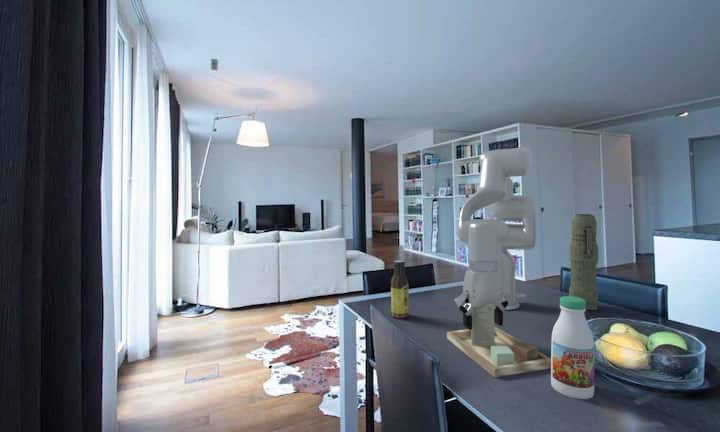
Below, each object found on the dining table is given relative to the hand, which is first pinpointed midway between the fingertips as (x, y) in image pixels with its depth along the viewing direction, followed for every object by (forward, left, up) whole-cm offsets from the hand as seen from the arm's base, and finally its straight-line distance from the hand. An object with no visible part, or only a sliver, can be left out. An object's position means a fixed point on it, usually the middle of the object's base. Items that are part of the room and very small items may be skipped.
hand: (483, 326), depth 91 cm
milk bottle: (-5, +24, -6) cm, 25 cm away
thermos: (-55, -18, -6) cm, 58 cm away
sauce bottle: (+14, -29, -6) cm, 33 cm away
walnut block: (-3, +12, -5) cm, 13 cm away
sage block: (+3, +12, -5) cm, 13 cm away
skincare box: (0, 0, -5) cm, 5 cm away
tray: (0, +5, -6) cm, 8 cm away
